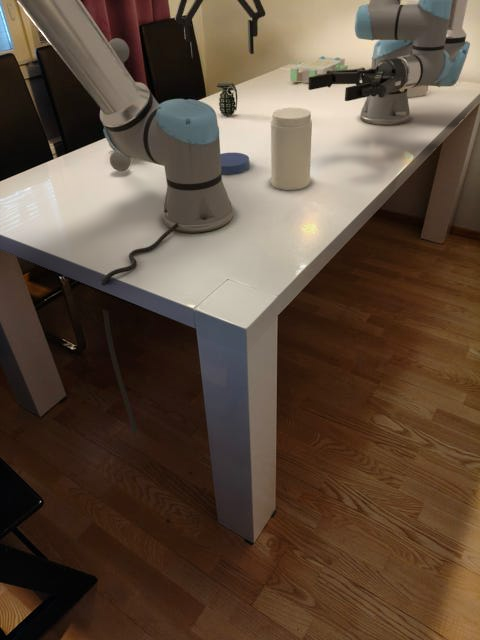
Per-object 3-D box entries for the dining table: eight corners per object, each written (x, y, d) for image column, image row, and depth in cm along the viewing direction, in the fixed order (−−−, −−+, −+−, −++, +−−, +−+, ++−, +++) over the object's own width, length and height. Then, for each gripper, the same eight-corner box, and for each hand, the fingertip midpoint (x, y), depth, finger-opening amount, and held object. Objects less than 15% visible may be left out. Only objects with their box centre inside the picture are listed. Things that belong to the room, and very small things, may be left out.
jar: (264, 186, 119) (263, 116, 109) (281, 172, 126) (282, 105, 116) (299, 192, 115) (301, 120, 105) (315, 178, 122) (319, 109, 112)
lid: (251, 172, 127) (251, 164, 125) (211, 176, 126) (211, 167, 125) (247, 158, 135) (246, 151, 134) (209, 162, 134) (209, 154, 133)
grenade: (217, 117, 168) (214, 86, 162) (221, 112, 172) (219, 82, 166) (235, 117, 166) (233, 86, 160) (239, 113, 171) (238, 82, 165)
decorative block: (312, 54, 215) (354, 57, 206) (311, 70, 219) (352, 74, 210) (281, 65, 199) (325, 69, 190) (281, 83, 203) (324, 87, 194)
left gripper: (155, -56, 97) (169, 62, 110) (278, -64, 99) (278, 53, 112) (155, -56, 103) (168, 56, 116) (270, -63, 105) (271, 48, 118)
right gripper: (432, 100, 113) (361, 117, 105) (360, 82, 131) (295, 95, 123) (438, 65, 109) (365, 80, 101) (363, 51, 126) (296, 62, 118)
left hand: (222, 55), depth 114 cm, fingers open, 13 cm apart
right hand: (326, 88), depth 112 cm, fingers open, 13 cm apart
